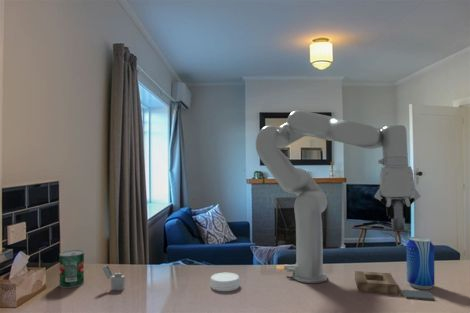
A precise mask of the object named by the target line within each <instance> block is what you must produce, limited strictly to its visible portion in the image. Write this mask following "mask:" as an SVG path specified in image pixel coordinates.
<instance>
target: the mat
mask: <svg viewBox="0 0 470 313" xmlns="http://www.w3.org/2000/svg"><path fill="white" fill-rule="evenodd" d="M401 292H402V293H403V295H404V296H405V298H406V299H408V300H409V299H413V300H422V301H423V300H424V301H436V300H435V299H436V298H435V297H434V296H433V295H432V293H431V292H430V291H427V290H426V291H425V290H413V289H401Z"/></svg>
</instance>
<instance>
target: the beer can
mask: <svg viewBox="0 0 470 313" xmlns="http://www.w3.org/2000/svg"><path fill="white" fill-rule="evenodd" d="M406 281H407V283H408V284H409V286H410V287H412V288H414V289H418V290H419V289H420V290H431V289H432V288H433V286H435V246H434V245H433V243H432V240H431V239H430V238H429V237H428V238H427V237H423V236H422V237H420V236H411V237H409V240H408V242H406Z"/></svg>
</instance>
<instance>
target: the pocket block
mask: <svg viewBox="0 0 470 313" xmlns="http://www.w3.org/2000/svg"><path fill="white" fill-rule="evenodd" d="M354 282H355V285H356V288H357V291H358V292H363V293H365V292H366V293H377V294H378V293H379V294H388V295H389V294H390V295H398V284H397V281H396V280H395V278H394V277H393V275H392V273H391V272H390V273H389V272H374V271H360V270H354Z"/></svg>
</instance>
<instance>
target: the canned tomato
mask: <svg viewBox="0 0 470 313" xmlns="http://www.w3.org/2000/svg"><path fill="white" fill-rule="evenodd" d="M58 255H59V288H62V289H72V288H78V287H80V286H83V285H84V283H85V251H84V250H81V249H73V250H66V251H63V252H60V253H59V254H58Z"/></svg>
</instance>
